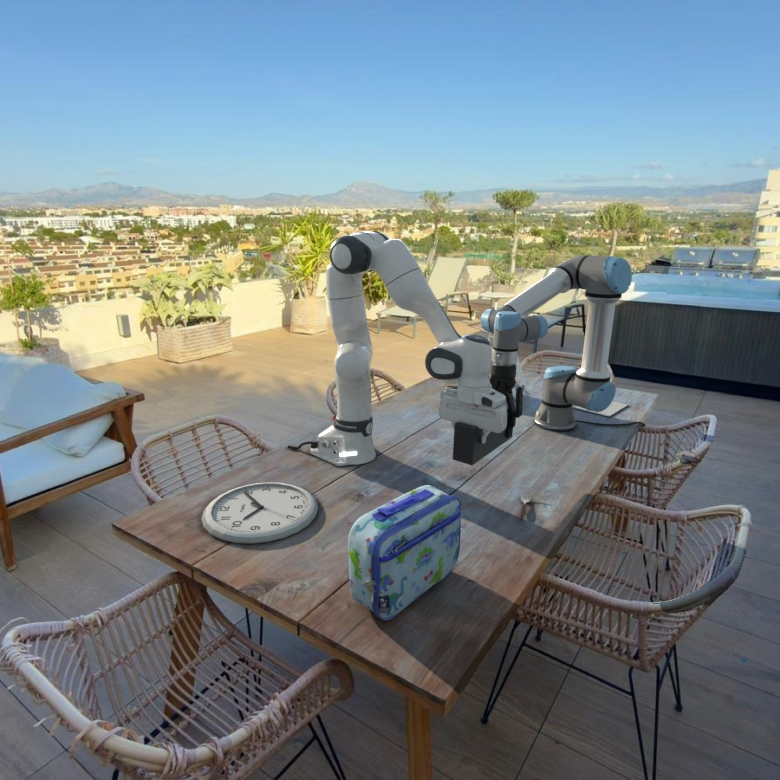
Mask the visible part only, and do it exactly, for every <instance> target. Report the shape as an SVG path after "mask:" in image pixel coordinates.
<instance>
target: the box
mask: <svg viewBox="0 0 780 780" xmlns="http://www.w3.org/2000/svg"><path fill="white" fill-rule="evenodd" d="M503 404H504V405H505V407H506V409H507V418H508V417H510V415H509V410H508V406H507V402H506V401H505V403H503ZM506 429H507V427H506ZM506 429H505V430H504V431H502V432H501V433H495V432H490V433H489V434H488V436H487V437H486V442H485V443H484V444H482V443H479V437H480V436H483V435H484V433H483V429H480V428H478V427H477V426H473V425H469V424H465V423H461V422H457V423H455V427H454V429H453V447H452V460H453V461H456V462H460V463H463V464H466V465H469V466H474V465H475V464H476V463H477V464H478V462H479V461H481V460H482V459H484V458H485V457H486V456H488V455H489V454H491V453H492V452H494V451H495V450H496V449H498V448H499V447H501V446H502V445H504V444H505V443H506V442H508V441H509V440H510V439H512V438H513V435H512V436H510V437H509V438H506ZM513 431H514V427H513V428H512V434H514V433H513Z"/></svg>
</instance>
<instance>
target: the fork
mask: <svg viewBox="0 0 780 780" xmlns="http://www.w3.org/2000/svg"><path fill="white" fill-rule="evenodd" d="M532 491H533V489H530V490H528V491H527V488H526V489H523V491H522V494H521V497H520V500H521V502H522V503H523V505H522V507H521V508H520V521H522V520H523V518H524V515H525V513H526V508H527V507H526V505H527V503H530V502H531V500H532Z"/></svg>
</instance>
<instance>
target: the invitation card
mask: <svg viewBox="0 0 780 780" xmlns="http://www.w3.org/2000/svg"><path fill="white" fill-rule="evenodd" d="M628 406H629V404H627V403H623V402H618V401H614V400H613V401H612V402H611V404H610V405H609V406H608V407H607V408H606V409H605V410H603V411H601V412H595V411H591V410H590V411H589V410H587V409H584V408H581V407H578V406H574V407H573V409H575V410H581V411H584V412H587V413H593V414H596V415H600V416H604V417H608V418H609V417H611V416H613V415H614V414H616V413H617V412H619V411H621V410H623V409H624V408H626V407H628Z"/></svg>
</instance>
